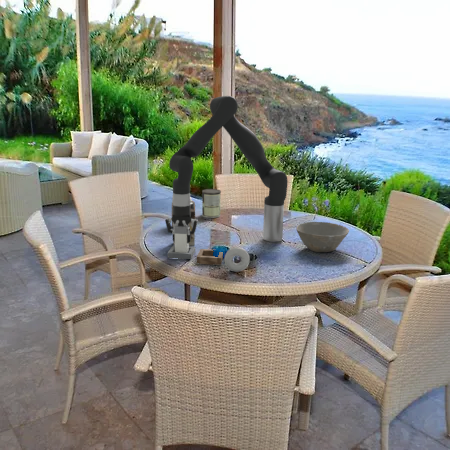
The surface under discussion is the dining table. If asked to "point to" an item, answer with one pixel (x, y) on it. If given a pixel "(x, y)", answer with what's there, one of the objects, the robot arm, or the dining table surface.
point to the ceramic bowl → (321, 235)
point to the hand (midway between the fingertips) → (181, 242)
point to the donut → (236, 252)
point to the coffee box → (190, 229)
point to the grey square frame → (181, 255)
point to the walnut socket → (209, 257)
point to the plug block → (181, 239)
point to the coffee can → (211, 203)
